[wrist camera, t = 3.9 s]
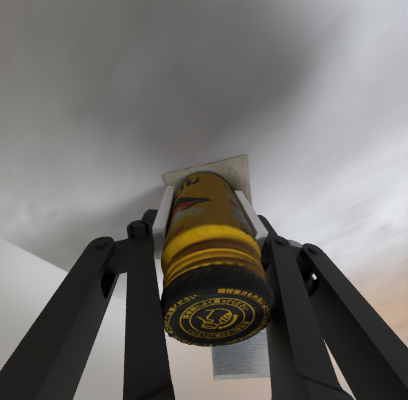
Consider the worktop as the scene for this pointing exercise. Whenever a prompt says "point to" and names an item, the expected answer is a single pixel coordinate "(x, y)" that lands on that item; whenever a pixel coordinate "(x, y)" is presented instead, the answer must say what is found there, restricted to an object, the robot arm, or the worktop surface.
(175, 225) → the condiment
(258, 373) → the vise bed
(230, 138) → the worktop surface
